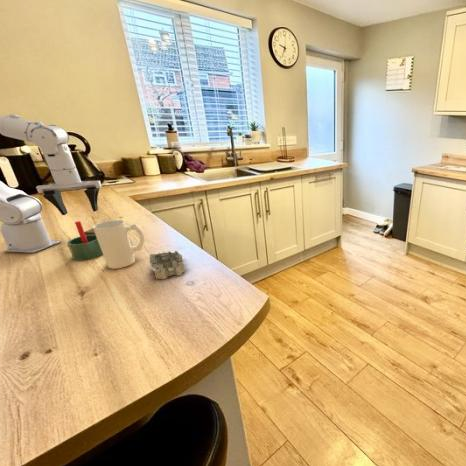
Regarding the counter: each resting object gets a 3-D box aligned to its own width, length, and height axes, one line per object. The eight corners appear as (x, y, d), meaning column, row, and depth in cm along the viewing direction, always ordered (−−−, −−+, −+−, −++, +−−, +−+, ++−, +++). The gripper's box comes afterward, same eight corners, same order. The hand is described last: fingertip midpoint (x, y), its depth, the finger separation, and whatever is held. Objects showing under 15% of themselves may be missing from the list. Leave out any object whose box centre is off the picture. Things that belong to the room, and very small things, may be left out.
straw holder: (86, 240, 96) (83, 232, 95) (104, 232, 102) (102, 224, 101) (106, 241, 95) (103, 233, 94) (123, 233, 102) (120, 225, 101)
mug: (107, 271, 77) (92, 230, 73) (106, 262, 82) (92, 223, 77) (151, 261, 83) (140, 222, 79) (148, 253, 88) (137, 215, 83)
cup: (66, 259, 83) (60, 244, 81) (89, 248, 90) (84, 234, 88) (90, 261, 83) (84, 245, 81) (111, 250, 89) (106, 235, 88)
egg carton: (186, 274, 77) (183, 260, 75) (153, 282, 73) (149, 268, 71) (182, 258, 85) (179, 245, 83) (151, 265, 81) (148, 252, 79)
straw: (85, 253, 86) (73, 222, 82) (89, 252, 87) (78, 221, 83) (88, 254, 85) (77, 222, 82) (92, 252, 87) (81, 221, 83)
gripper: (97, 164, 91) (112, 205, 97) (37, 168, 86) (56, 212, 91) (90, 168, 85) (106, 211, 91) (25, 172, 80) (46, 218, 85)
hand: (80, 212), depth 90 cm, fingers open, 7 cm apart
